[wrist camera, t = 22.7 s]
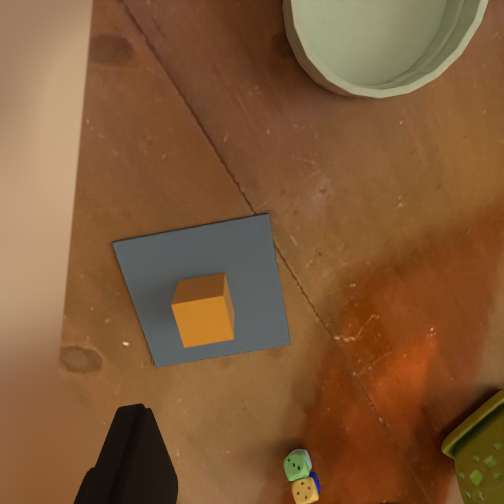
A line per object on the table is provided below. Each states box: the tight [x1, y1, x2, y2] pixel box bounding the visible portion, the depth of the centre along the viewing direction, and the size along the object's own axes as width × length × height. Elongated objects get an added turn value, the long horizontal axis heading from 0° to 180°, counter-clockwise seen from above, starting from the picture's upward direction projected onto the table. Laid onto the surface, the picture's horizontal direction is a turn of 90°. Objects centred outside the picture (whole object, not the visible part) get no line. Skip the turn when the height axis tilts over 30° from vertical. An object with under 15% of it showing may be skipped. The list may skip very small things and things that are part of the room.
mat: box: [112, 213, 291, 368], centre depth 40 cm, size 16×16×1 cm
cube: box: [171, 273, 234, 348], centre depth 37 cm, size 5×5×5 cm
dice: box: [283, 449, 321, 504], centre depth 47 cm, size 8×3×6 cm, turn 23°
